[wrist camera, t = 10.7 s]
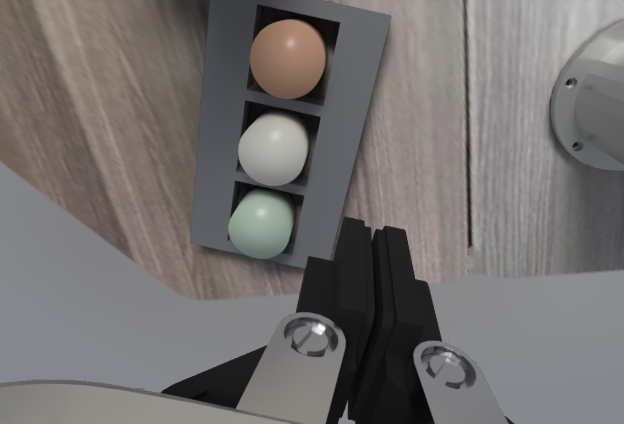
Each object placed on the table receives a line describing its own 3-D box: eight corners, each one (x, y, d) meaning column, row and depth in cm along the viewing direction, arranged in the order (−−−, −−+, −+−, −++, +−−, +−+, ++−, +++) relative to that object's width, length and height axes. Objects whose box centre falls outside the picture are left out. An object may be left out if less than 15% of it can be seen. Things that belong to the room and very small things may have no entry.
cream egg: (315, 116, 39) (310, 129, 35) (304, 174, 41) (298, 192, 37) (254, 102, 39) (242, 114, 35) (246, 161, 41) (234, 178, 37)
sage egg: (300, 192, 42) (294, 211, 38) (290, 241, 45) (284, 264, 41) (243, 179, 42) (231, 198, 38) (237, 229, 45) (225, 251, 41)
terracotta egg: (333, 26, 36) (330, 29, 32) (320, 95, 38) (315, 106, 34) (266, 12, 36) (255, 13, 32) (257, 81, 38) (245, 90, 34)
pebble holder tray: (389, 15, 36) (391, 16, 33) (327, 260, 46) (326, 273, 44) (221, -22, 36) (211, -24, 33) (198, 231, 46) (189, 243, 44)
